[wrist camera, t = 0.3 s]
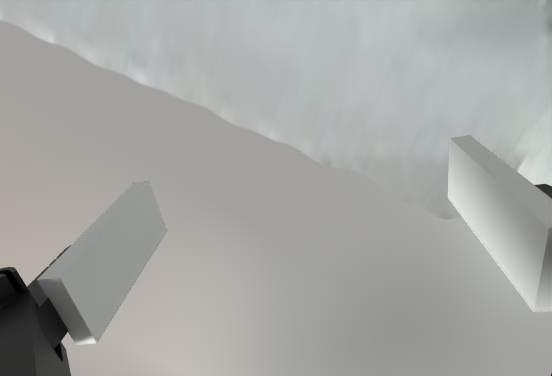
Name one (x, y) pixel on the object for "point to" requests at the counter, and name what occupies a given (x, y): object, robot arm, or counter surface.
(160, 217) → the robot arm
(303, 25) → the counter surface
